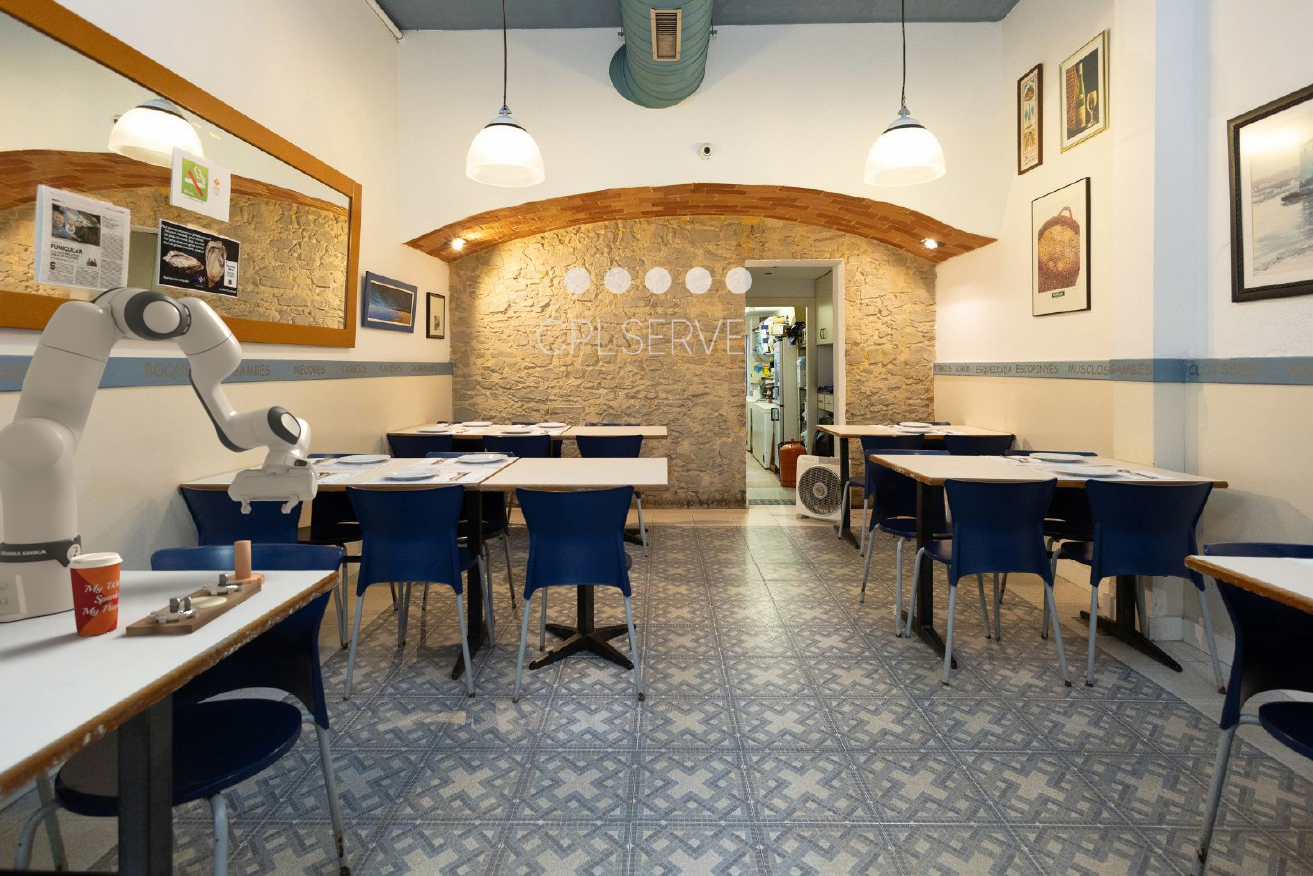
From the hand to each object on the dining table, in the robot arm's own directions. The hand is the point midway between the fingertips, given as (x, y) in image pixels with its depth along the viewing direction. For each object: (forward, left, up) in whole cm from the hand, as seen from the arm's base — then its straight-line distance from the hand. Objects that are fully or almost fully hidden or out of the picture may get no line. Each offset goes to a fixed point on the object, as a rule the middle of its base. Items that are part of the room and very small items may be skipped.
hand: (265, 512), depth 163 cm
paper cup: (-11, -43, -15) cm, 47 cm away
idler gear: (0, -12, -15) cm, 19 cm away
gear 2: (+1, -23, -14) cm, 27 cm away
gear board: (+1, -32, -15) cm, 35 cm away
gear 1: (+1, -41, -14) cm, 43 cm away
